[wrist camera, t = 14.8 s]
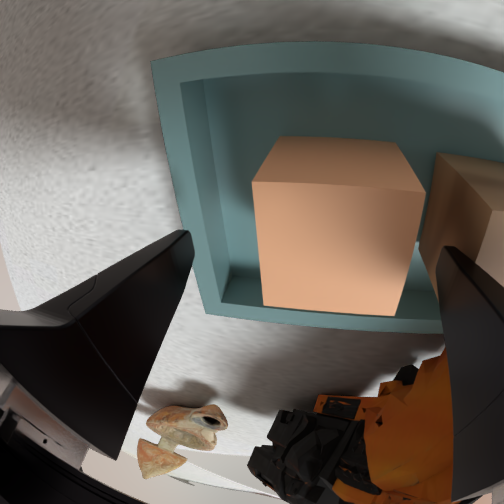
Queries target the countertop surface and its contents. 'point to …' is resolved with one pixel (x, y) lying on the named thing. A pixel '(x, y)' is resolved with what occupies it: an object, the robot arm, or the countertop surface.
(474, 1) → the countertop surface
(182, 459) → the oil lamp
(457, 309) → the robot arm
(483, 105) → the tray
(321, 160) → the block terracotta
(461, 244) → the block walnut
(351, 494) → the tool
